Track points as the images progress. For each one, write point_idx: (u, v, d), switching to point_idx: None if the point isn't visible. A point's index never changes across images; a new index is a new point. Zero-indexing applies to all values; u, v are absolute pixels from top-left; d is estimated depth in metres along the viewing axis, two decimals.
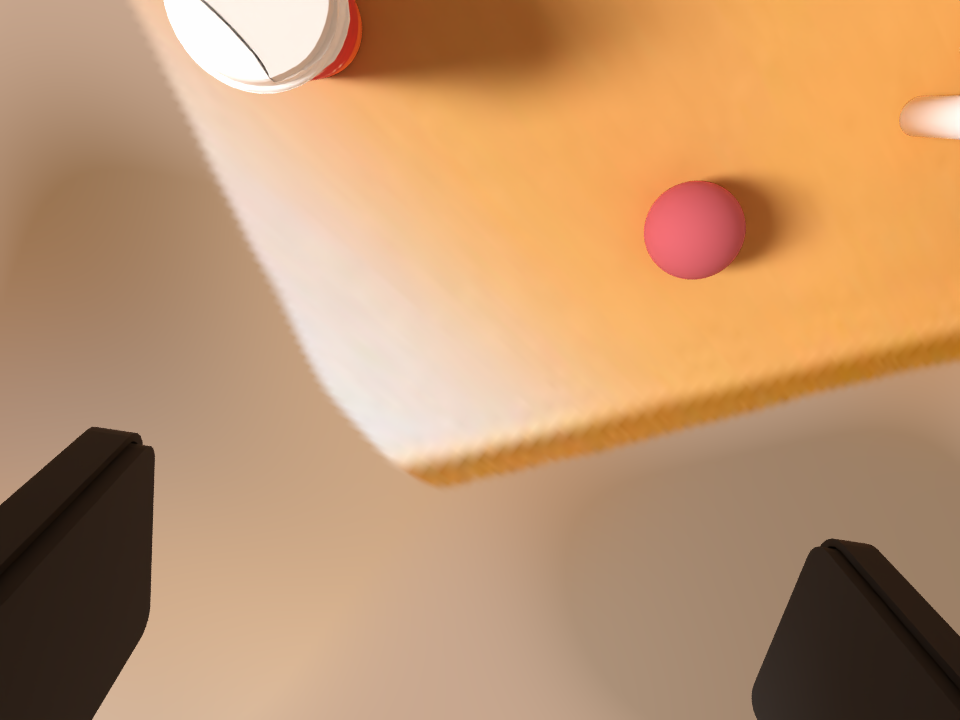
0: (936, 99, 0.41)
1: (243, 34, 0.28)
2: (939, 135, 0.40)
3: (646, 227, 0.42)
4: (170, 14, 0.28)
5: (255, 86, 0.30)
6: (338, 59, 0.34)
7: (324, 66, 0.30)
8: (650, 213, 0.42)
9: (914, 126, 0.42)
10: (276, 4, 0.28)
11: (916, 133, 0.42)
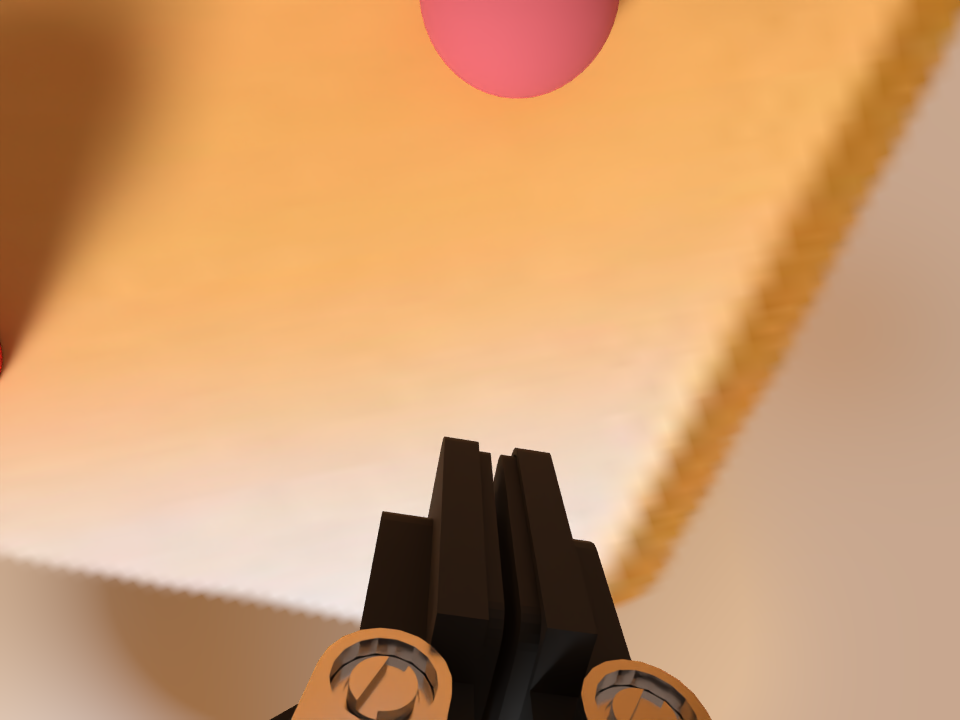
0: None
1: None
2: None
3: (456, 74, 0.21)
4: None
5: None
6: None
7: None
8: (437, 52, 0.21)
9: None
10: None
11: None
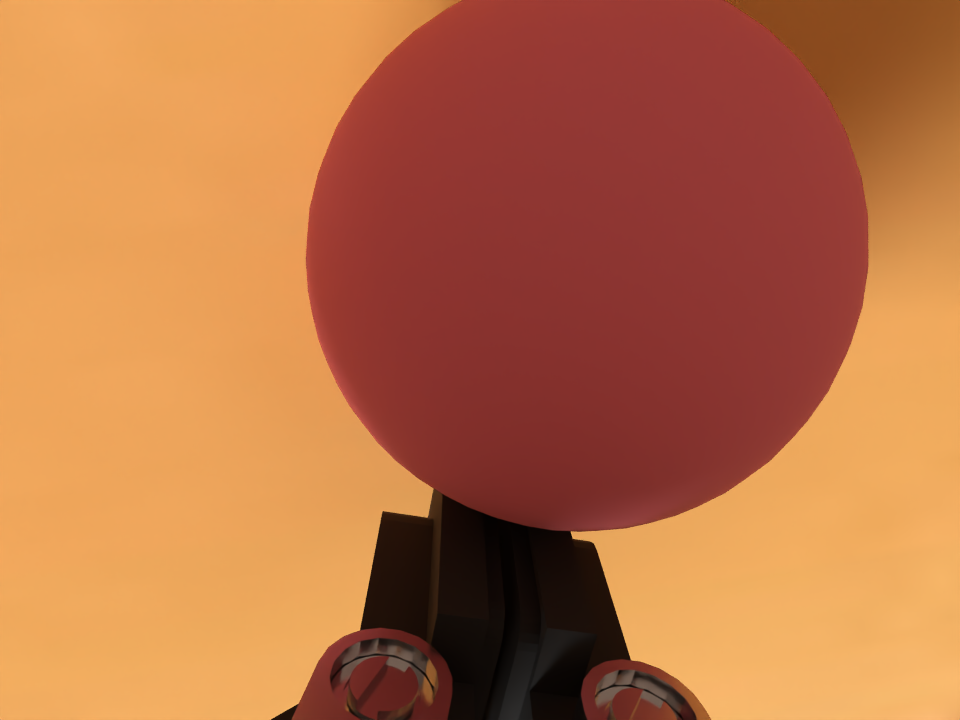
0: None
1: None
2: None
3: (476, 400, 0.06)
4: None
5: None
6: None
7: None
8: (391, 349, 0.06)
9: None
10: None
11: None
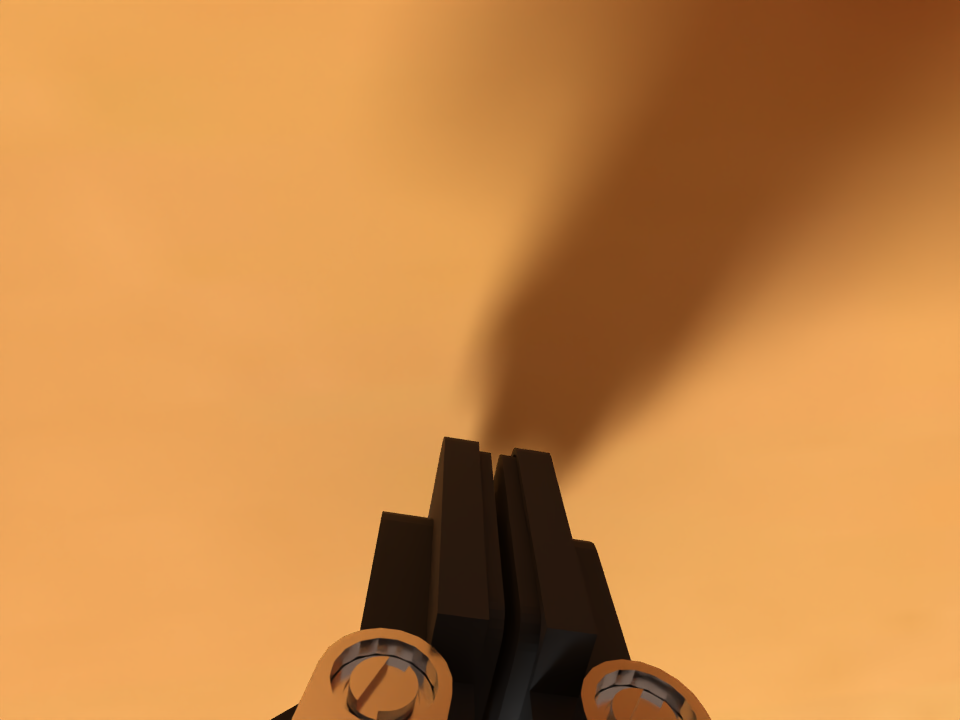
0: None
1: None
2: None
3: None
4: None
5: None
6: None
7: None
8: None
9: None
10: None
11: None
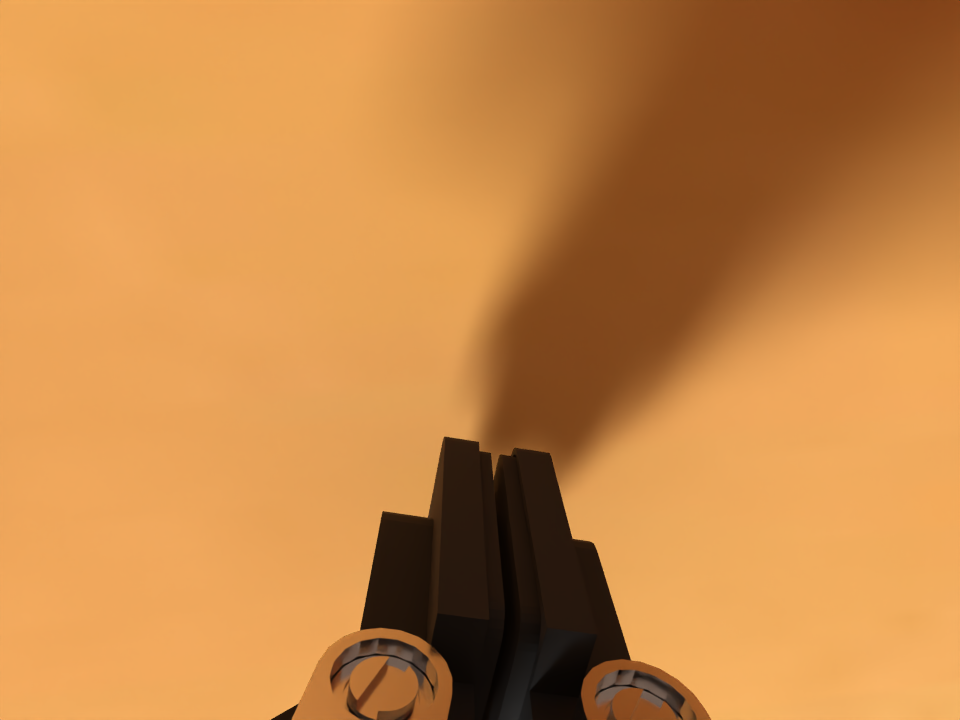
0: None
1: None
2: None
3: None
4: None
5: None
6: None
7: None
8: None
9: None
10: None
11: None
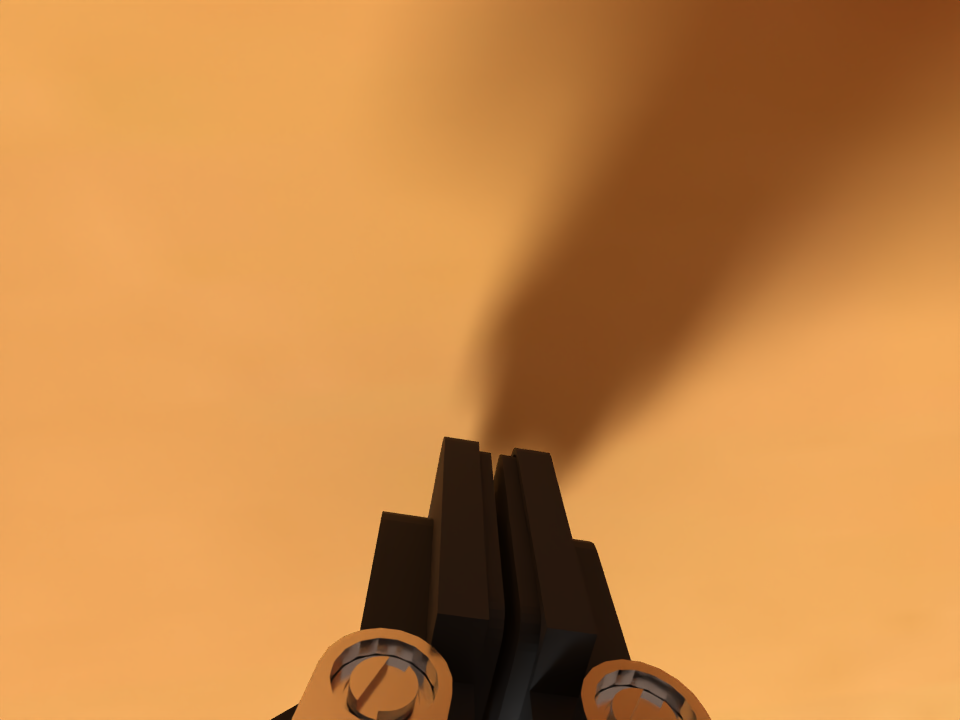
0: None
1: None
2: None
3: None
4: None
5: None
6: None
7: None
8: None
9: None
10: None
11: None
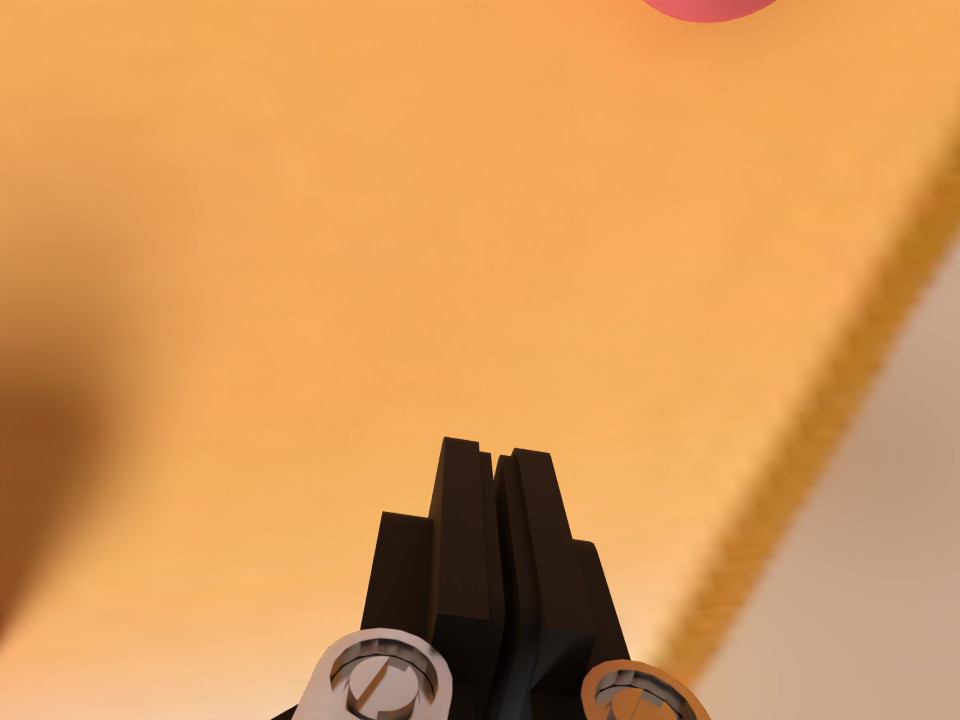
0: None
1: None
2: None
3: None
4: None
5: None
6: None
7: None
8: None
9: None
10: None
11: None
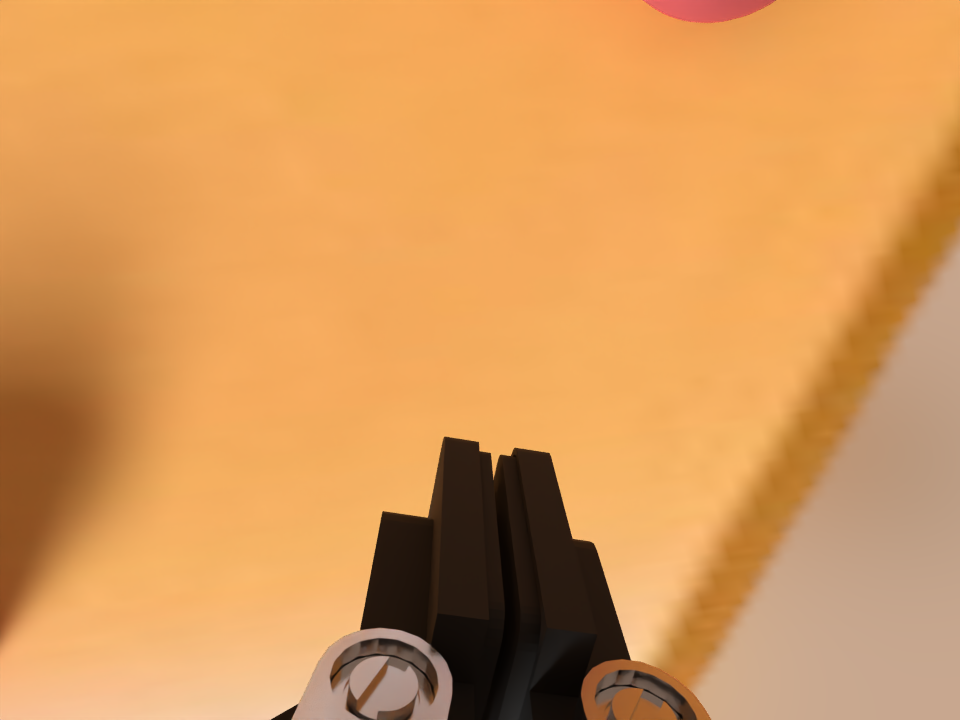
0: None
1: None
2: None
3: None
4: None
5: None
6: None
7: None
8: None
9: None
10: None
11: None
